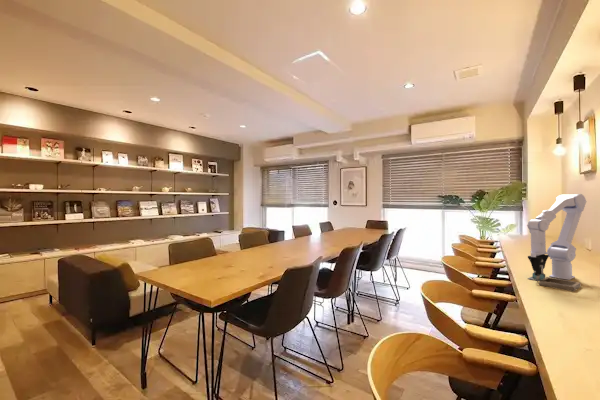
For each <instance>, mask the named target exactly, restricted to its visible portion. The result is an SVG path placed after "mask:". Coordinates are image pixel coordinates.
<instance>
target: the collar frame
mask: <svg viewBox="0 0 600 400" xmlns="http://www.w3.org/2000/svg"><path fill="white" fill-rule="evenodd" d="M538 283H539V284H538V285H539V286H543V287H547V288H553V289H558V290H564V291H570V292H575V291H577V290H579V288H581V287H582V284H581V282H578V281H572V280H567V279H560V278H554V277H548V276H545V278H544V279H542V280H540V281H538Z"/></svg>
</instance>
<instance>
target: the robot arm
mask: <svg viewBox="0 0 600 400" xmlns="http://www.w3.org/2000/svg"><path fill="white" fill-rule="evenodd" d="M586 204H587V199H586V196H585V195H584V194H582V193H577V194H576V193H575V194H574V193H573V194H570V193H569V194H563V193H562V194H559V195H558V196H557V197H555V202H554V203H553V204H552V205H551V207H550V208H549V209H544V210H542V211H541V213H540V214H538V216H536V217H535V218H534V219H533V218H532V219H530V220H528V223H527V225H526V226H527V228H528V231H529V233H530V255H527V259H528V260H529V262H530V264H531V268H532V270H533V272H534V271H539V269H540V263H541V261H542V259H543V261H545V265H543V270H545V267H546V263H547V260H548V259H550V260H551V274H550V275H548V276H549V278H555V279H561V280H567V281H571V280H572V279H574V278H575V275H573V265H572V262H573V260H575V258H576V255H577V254H576V251H577V248H576V246H574V245H573V243H572V242H573V239H574V236H575V234H576V231H577V228H578V225H579V222H580V218H581V216H582V213H583V212H584V210H585V207H586ZM560 211H563V212H565V213H566V215H565V218H564V221H563V224H562V227H561V230H560V232H559V235H558V238H557V240H555V241H553V242H552V243H550V245H549V247H548V248H547V250H546V244H547V243H546V241H547V240H546V231H548V229H549V226H550V225H551V223H552V221H554V220H555V219H556V217H557V216H556V215H557V214H558V213H559V212H560Z"/></svg>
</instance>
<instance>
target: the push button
mask: <svg viewBox="0 0 600 400" xmlns="http://www.w3.org/2000/svg"><path fill="white" fill-rule="evenodd" d="M543 265H545V266H546V264H545V261H543V259H542V261H541V263H540V269H539V271H533V272H532V273H531V274H532V276H533V278H534V279H540V280H542V279H544V278H546V274H545V273H544V269H543ZM532 276H531V277H532Z"/></svg>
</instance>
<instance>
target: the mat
mask: <svg viewBox="0 0 600 400" xmlns="http://www.w3.org/2000/svg"><path fill="white" fill-rule="evenodd" d="M527 280H530V281H535V282H539V281H540V279H534V278H533V276H529V277H528V278H527Z"/></svg>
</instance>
